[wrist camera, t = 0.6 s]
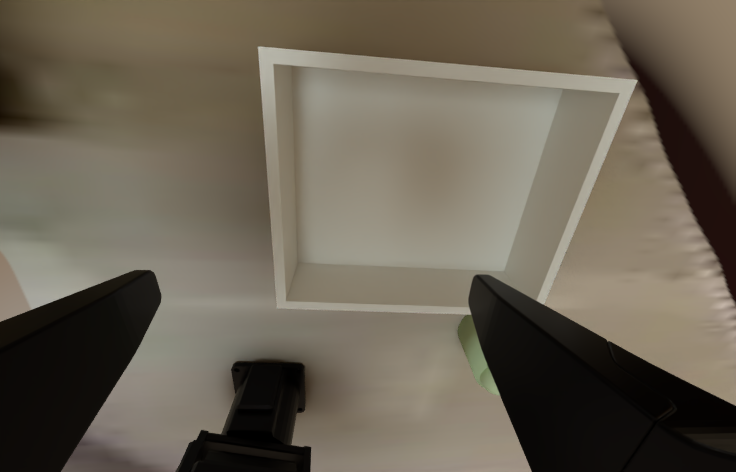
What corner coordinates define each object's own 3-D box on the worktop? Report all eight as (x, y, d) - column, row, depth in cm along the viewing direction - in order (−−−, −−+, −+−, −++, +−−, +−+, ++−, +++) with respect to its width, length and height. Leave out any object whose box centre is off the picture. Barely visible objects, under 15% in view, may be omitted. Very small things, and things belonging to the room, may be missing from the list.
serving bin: (505, 273, 25) (538, 316, 21) (291, 264, 24) (276, 308, 20) (570, 78, 19) (637, 80, 15) (282, 53, 18) (257, 46, 13)
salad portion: (506, 349, 30) (538, 407, 24) (452, 348, 29) (473, 406, 24) (523, 306, 27) (562, 360, 22) (464, 304, 27) (490, 358, 22)
